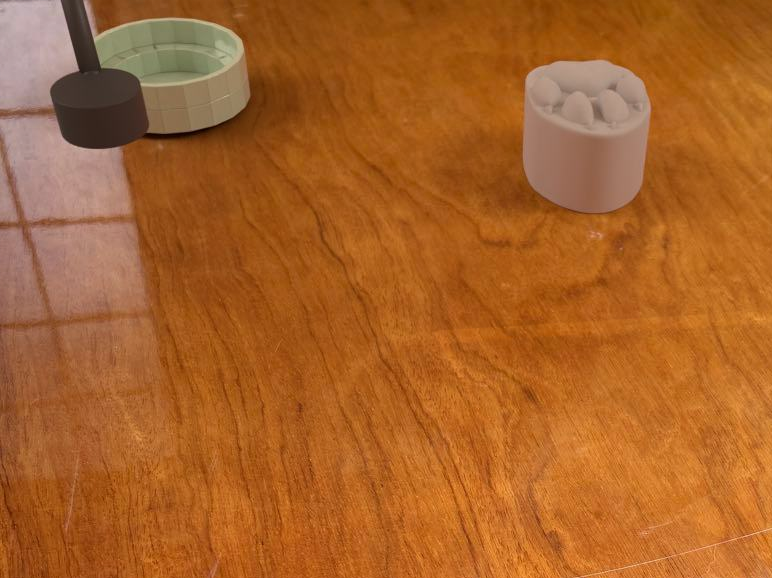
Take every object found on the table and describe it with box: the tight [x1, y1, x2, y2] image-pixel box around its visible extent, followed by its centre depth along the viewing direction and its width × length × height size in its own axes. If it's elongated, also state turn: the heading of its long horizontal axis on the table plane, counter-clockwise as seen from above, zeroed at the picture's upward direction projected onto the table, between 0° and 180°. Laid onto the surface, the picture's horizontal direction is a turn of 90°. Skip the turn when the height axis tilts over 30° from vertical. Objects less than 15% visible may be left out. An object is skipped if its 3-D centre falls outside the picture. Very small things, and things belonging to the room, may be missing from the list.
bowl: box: [93, 17, 252, 135], centre depth 108 cm, size 14×14×5 cm
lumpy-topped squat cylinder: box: [522, 59, 652, 215], centre depth 101 cm, size 10×13×9 cm
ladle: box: [49, 0, 149, 150], centre depth 77 cm, size 16×6×10 cm, turn 21°
